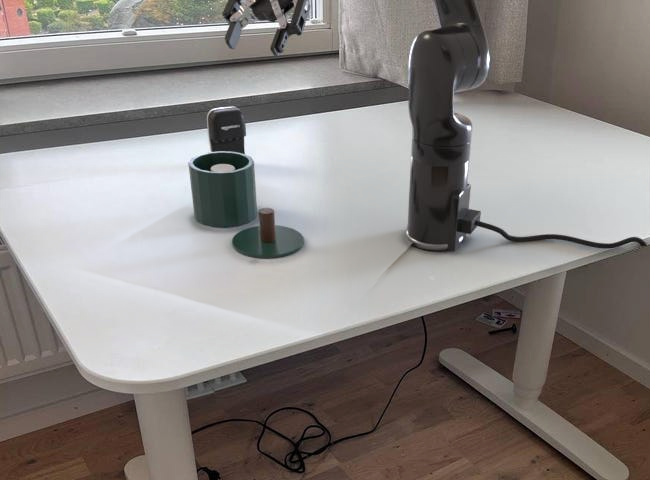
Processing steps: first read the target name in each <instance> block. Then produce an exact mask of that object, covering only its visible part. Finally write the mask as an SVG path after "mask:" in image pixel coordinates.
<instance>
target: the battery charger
mask: <svg viewBox="0 0 650 480" xmlns="http://www.w3.org/2000/svg"><path fill="white" fill-rule="evenodd" d="M206 127H207V137H208V145H209V150H210V151H209V152H218V151H229V152H238V153H243V154H246V151H245V137H246V136H247V129H246V127H247V126H246V118H245V115H244V113H243V112H242V110H241V109H239V108H238V107H236V106H223V107H216V108H212V109H210V110H209V111H208V112H207V114H206Z"/></svg>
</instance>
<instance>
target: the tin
mask: <svg viewBox="0 0 650 480" xmlns="http://www.w3.org/2000/svg"><path fill="white" fill-rule="evenodd" d="M187 164H188V172H189V181H190V189H191V190H190V191H191V199H192V207H193V215H194V218H195V221H196V222H197V223H199V224H201V225H202V226H205V227H210V228H213V229H214V228H215V229H217V228H218V229H229V228H230V229H231V228H238V227H241V226H245V225H248V224H250V223H251V222H254V220H255V219H256V218H257V216H258V203H257V201H258V200H257V188H256V174H255V172H256V171H255V160H254V159H253V158H252V157H251V156H250V155H247V154H246V153H245V154H243V153H238V152H229V151H218V152H211V151H209V152H205V153H201V154H198V155H195V156H193V157H191V158H190V160H189V161H188V163H187ZM217 164H229V165H232V166H234V167H235V170H234V171H226V172H211V167H212V166H214V165H217Z"/></svg>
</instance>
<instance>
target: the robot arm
mask: <svg viewBox="0 0 650 480" xmlns="http://www.w3.org/2000/svg"><path fill="white" fill-rule="evenodd" d="M476 2H477V1H476V0H432V3H433V5H434V9H435V12H436V15H437V20H438V24H439V27H435V28H429V29H424V30H422V31H421V32H419V33H418V34H417V35H416V36H415V37H414V39H413V42H412V43H411V47H410V50H409V56H408V57H409V58H408V65H407V68H408V69H407V72H408V73H407V75H408V77H407V78H408V79H407V81H408V83H407V84H408V85H407V86H408V116H409V120H410V125H411V152H410V153H411V154H410V170H409V190H408V191H409V192H408V209H407V210H408V211H407V226H406V227H407V229H406V238H407V240H408V241H409V242H410V243H411V245H412V246H413V247H416V248H419V249H422V250H426V251H433V252H434V251H436V252H437V251H438V252H439V251H440V252H441V251H450V252H455V251H456V250H457V249H458V248H459V246H461V245H462V243H463V242H464V241H465V239H466V238H467V235H472V233H473V232H474V231H475V230H476V229H477V227H479V228H482V229H486V230H489V231H492V232H495V233H498V234H499V235H501V236H502V238H504V239H505V240H507V241H509V242H515V243H523V242H525V243H527V242H535V241H536V242H537V241H542V240H557V241H564V242H568V243H569V242H570V243H574V244H578V245H582V246H585V247H586V246H587V247H590V248H594V249H595V248H597V249H605V250H609V249H610V250H611V249H616V248H619V247H623V246H625V245H628V244H630V243H637V244H639V245H640V246H641V247H647V246H648V244H647V243H646V241H645V240H644V239H642V238H641V237H638V236H630V237H627V238H624V239H621V240H619V241H615V242H609V243H607V242H606V243H604V242H596V241H590V240H587V239H582V238H578V237H574V236H570V235H565V234H558V233H557V234H556V233H546V234H536V235H529V236H516V235H511V234H509V233H508V232H507V231H506V230H504V229H503V228H501V227H498V226H497V225H493V224H490V223H487V222H483V221H481V215H482V211H481V210H476V209H471V208H470V199H471V190H472V189H471V188H472V185H471V184H470V183H468V178H469V170H470V169H469V168H470V167H469V166H470V157H471V148H472V138H473V137H472V136H473V123H472V120H470V118H469V117H468V116H465V115H463V114H460V113H458V112H455V107H454V106H455V105H454V103H455V101H454V99H455V98H454V97H455V95H454V94H456V93H461V92H464V91H469V90H474V89H476V88H478V87H480V86H481V85H482V84H483V83H485V81H486V79H487V77H488V75H489V71H490V65H491V56H490V55H491V54H490V47H489V41H488V38H487V34H486V31H485V27H484V25H483V21H482V18H481V14H480V12H479V11H480V10H479V9H478V5H477V3H476ZM293 8H294V10H293ZM250 10H251V13H252V14H250V13H249V11H250ZM291 10H293V13H292V17H291V20H290V22H289V19H288V16H287V14H288V13H289V12H290V11H291ZM310 10H311V4H310V2H309V0H227V2H226V4H225V6H224V9H223V11H222V13H221V15H222V17H223V19H224V20H225V21H226V23H227V24H228V28H227V29H226V30H227V31H226V33H225V36H224V41H225V44H226V46H227V47H228V48H229V49H230V50H236V49H237V45H238V44H239V43H238V42H239V40H240V37H241V34H242V33H243V31H242V30H243V29H244V28H246V27H247V26H248V25H252V24H254V23H256V21H261V22H264V21H268V22H270V23H276V21H277V22H278V27H279V28H276V31H275V34H274V36H273V39H272V41H271V45H270V47H269V48H270V51H271V53H272V54H273V55H274V56H275V57H280V55H281V54H283V53H284V51H285V48H286V46H287V43H288V40H289V38H291V37H292V36H293V35H296V36H299V37H300V36H301V35H303V32H304V30H305V26H306V23H307V19H308V17H309V13H310Z"/></svg>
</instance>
